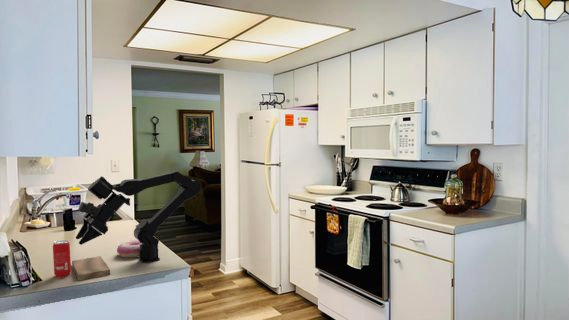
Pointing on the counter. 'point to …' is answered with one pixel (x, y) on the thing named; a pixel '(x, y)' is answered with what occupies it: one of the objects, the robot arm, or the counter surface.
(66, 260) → the beverage can
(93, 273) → the walnut board
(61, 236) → the counter surface
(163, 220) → the robot arm
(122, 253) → the donut
